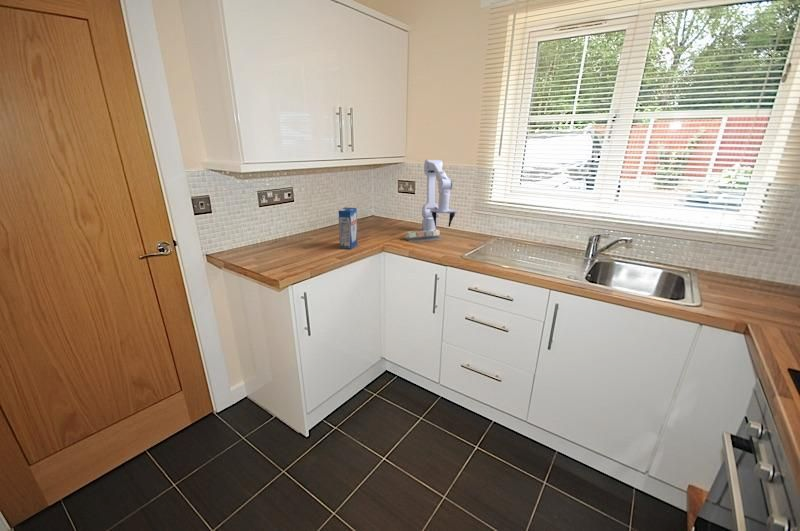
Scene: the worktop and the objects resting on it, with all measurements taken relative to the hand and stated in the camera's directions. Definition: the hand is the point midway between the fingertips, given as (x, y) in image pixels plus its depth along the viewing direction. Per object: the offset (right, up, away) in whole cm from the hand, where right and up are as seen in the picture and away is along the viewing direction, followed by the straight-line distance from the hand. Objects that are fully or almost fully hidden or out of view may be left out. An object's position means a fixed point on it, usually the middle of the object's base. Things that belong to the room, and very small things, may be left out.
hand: (442, 226), depth 190 cm
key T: (-12, -5, +6) cm, 15 cm away
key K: (-8, -4, +8) cm, 12 cm away
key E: (-17, -5, +4) cm, 18 cm away
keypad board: (-10, -7, +8) cm, 15 cm away
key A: (-3, -4, +10) cm, 11 cm away
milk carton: (-51, -12, -8) cm, 53 cm away
